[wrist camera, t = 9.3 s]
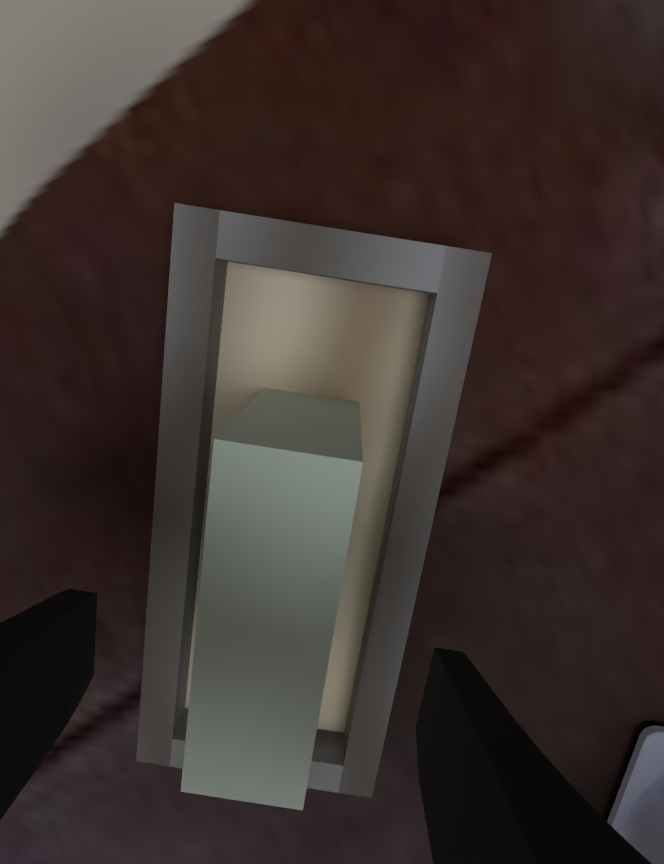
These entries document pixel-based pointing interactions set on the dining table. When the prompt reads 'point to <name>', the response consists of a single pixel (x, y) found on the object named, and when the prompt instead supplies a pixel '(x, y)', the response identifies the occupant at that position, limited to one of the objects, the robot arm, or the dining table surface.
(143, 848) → the dining table surface
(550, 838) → the robot arm
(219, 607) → the grey-green rectangular block
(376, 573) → the grey shallow tray
